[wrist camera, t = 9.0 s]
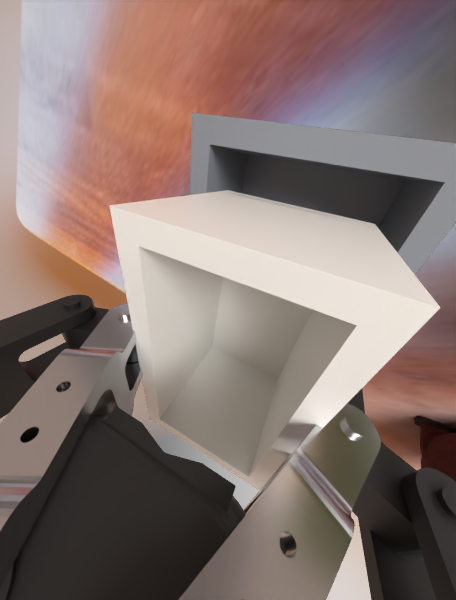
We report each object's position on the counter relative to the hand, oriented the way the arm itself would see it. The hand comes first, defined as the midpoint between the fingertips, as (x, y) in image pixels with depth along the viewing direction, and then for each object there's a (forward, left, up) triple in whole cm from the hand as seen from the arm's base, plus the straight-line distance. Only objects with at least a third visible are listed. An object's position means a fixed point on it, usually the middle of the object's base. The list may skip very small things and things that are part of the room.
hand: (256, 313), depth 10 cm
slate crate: (0, 0, -8) cm, 8 cm away
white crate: (0, 0, -1) cm, 1 cm away
